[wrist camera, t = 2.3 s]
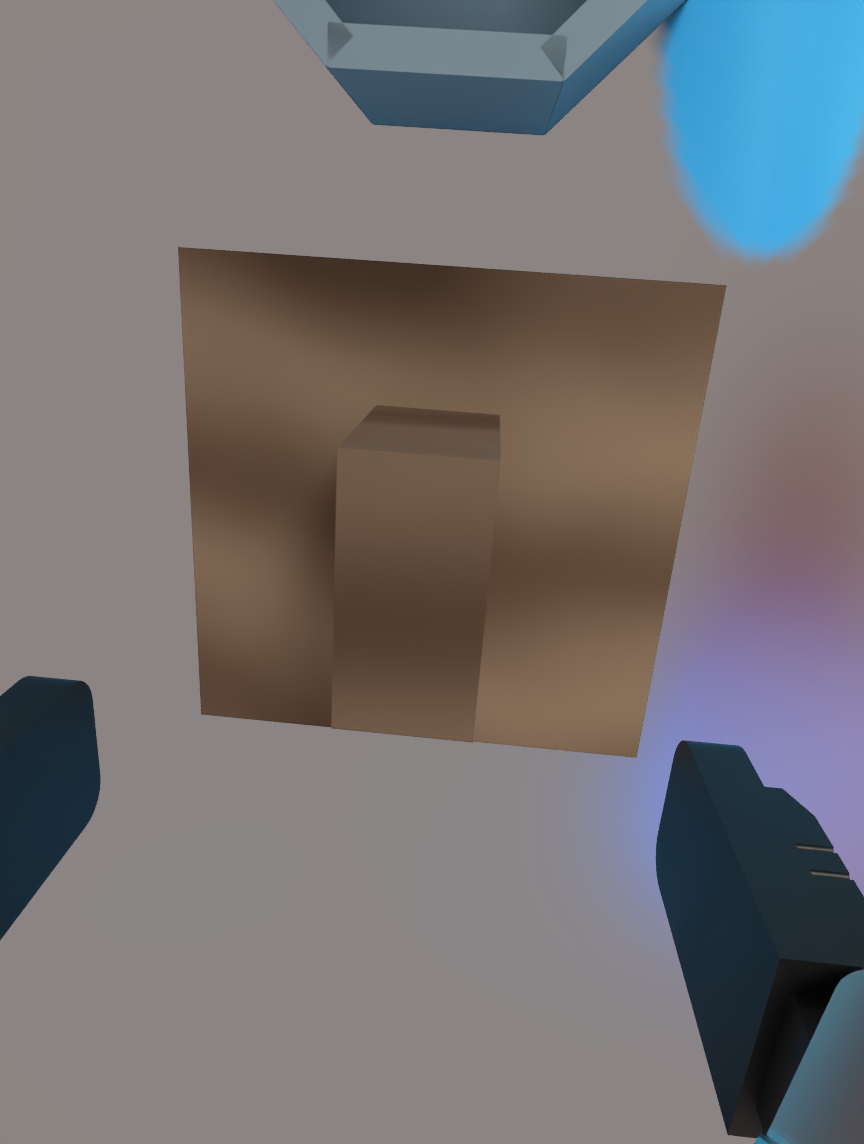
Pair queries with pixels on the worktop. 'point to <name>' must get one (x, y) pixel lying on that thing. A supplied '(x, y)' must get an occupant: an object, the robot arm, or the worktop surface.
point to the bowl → (473, 56)
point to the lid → (437, 492)
